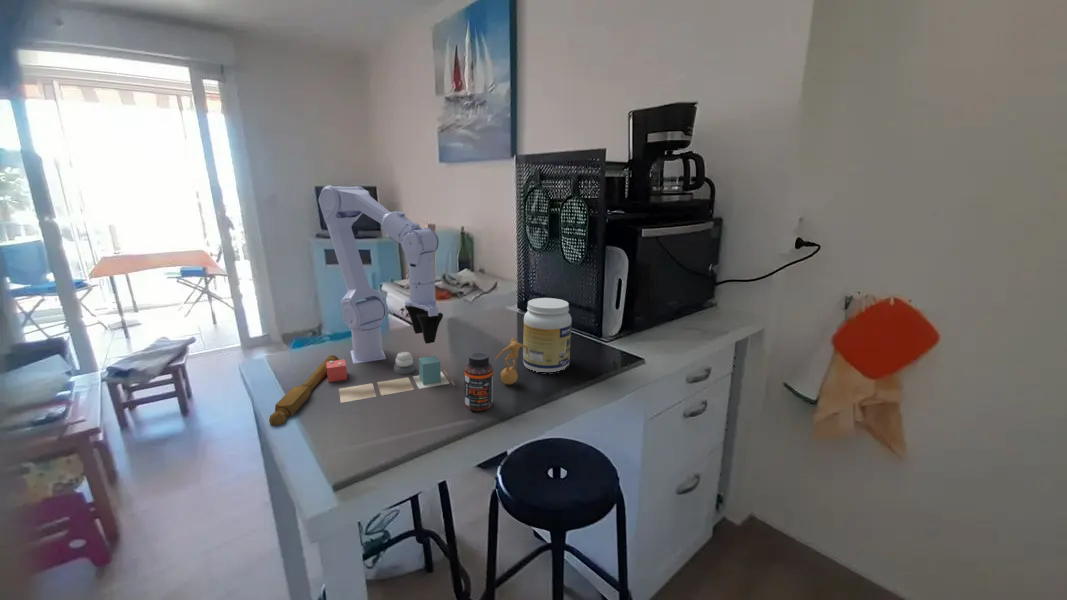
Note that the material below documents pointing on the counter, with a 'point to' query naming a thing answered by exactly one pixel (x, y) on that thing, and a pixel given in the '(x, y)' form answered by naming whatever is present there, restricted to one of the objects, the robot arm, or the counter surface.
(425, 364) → the teal rectangular block
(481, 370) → the supplement bottle
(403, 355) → the dome
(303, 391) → the tap handle
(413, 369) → the dome base
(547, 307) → the supplement tub
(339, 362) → the red die
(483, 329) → the counter surface
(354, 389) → the game board
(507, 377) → the figurine
